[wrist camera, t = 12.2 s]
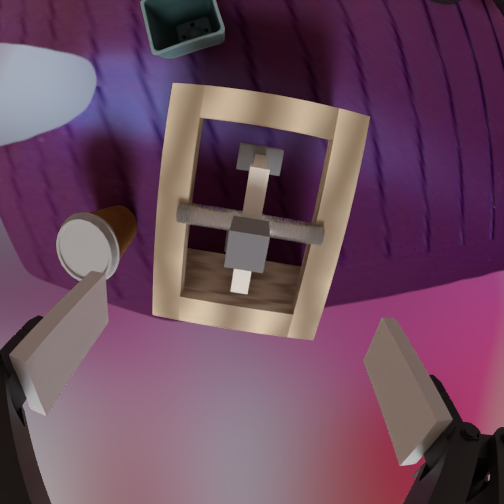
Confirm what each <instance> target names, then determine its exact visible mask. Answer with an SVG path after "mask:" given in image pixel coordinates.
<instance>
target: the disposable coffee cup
mask: <svg viewBox="0 0 504 504" xmlns="http://www.w3.org/2000/svg"><path fill="white" fill-rule="evenodd" d="M136 232H137V221H136V218H135V216H134V214H133V213H132V212H131V211H130V210H129V209H128V208H126V207H124V206H121V205H115V206H111V207H108V208H104V209H100V210H97V211H93V212H90V213H86V212H82V213H76V214H74V215H71V216H70V217H69V218H67V219H66V221H65V222H64V223H63V225H62V227H61V229H60V231H59V233H58V236H57V242H56V246H57V253H58V257H59V260H60V262H61V264H62V266H63V267H64V268H65V270H66V271H67V272H68V273H69V274H70V275H71V276H72V277H74V278H75V279H77V280H79V281H81V280H82V279H83V278H84V277H85V276H86V275H87V274H88V273H90V272H91V271H96V272H101V273H105V275H106V279H108V278H110V277H111V276H112V275H113V273H114V272H115V271H116V269H117V267H118V263H119V259H120V258H121V256H122V255H123V253H124V252H125V250H126V249H127V247H128V245H129V244H130V243H131V241H132V240H133V238H134V237H135V235H136Z"/></svg>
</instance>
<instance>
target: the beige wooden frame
mask: <svg viewBox="0 0 504 504" xmlns="http://www.w3.org/2000/svg"><path fill="white" fill-rule="evenodd" d="M204 118H207V119H215V120H223V121H231V122H238V123H245V124H251V125H257V126H264V127H269V128H275V129H281V130H286V131H291V132H296V133H301V134H306V135H311V136H316V137H320V138H325V139H329V141H328V146H327V151H326V157H325V162H324V167H323V172H322V176H321V181H320V186H319V191H318V196H317V200H316V205H315V210H314V214H313V219H312V223H310V222H304V221H299V220H293V219H287V218H282V217H276V216H270V215H264V214H262V217H261V220H264V221H269V228H270V237H271V238H277V239H283V240H289V241H295V242H301V243H306V244H307V245H306V249H305V253H304V258H303V262H302V266H295V265H289V264H283V263H276V262H270V261H265V265H264V270H263V273H258V272H251V277H250V283H249V288H248V294H241V293H235V292H230V291H231V284H232V278H233V271H234V269H233V268H227V267H224V264H225V257H226V254H221V253H215V252H209V251H202V250H196V249H190V248H188V237H189V227H190V225H197V226H203V227H209V228H216V229H222V230H228V231H229V229H230V226H231V223H232V219H233V216H239V217H242V214H243V211H240V210H234V209H227V208H221V207H214V206H208V205H201V204H194V203H192V200H193V192H194V184H195V176H196V168H197V161H198V153H199V146H200V140H201V133H202V126H203V120H204ZM369 120H370V117H369V116H366V115H362V114H359V113H355V112H351V111H347V110H344V109H340V108H336V107H332V106H327V105H323V104H319V103H314V102H310V101H305V100H300V99H295V98H290V97H285V96H280V95H274V94H268V93H262V92H256V91H249V90H242V89H234V88H226V87H217V86H207V85H196V84H183V83H173V85H172V91H171V97H170V103H169V110H168V116H167V123H166V130H165V138H164V146H163V154H162V162H161V171H160V181H159V192H158V203H157V216H156V231H155V248H154V272H153V315H156V316H161V317H166V318H171V319H176V320H181V321H186V322H192V323H197V324H203V325H209V326H215V327H221V328H227V329H233V330H240V331H246V332H253V333H260V334H268V335H274V336H283V337H290V338H299V339H307V340H313V339H314V336H315V333H316V330H317V327H318V324H319V321H320V318H321V315H322V311H323V308H324V305H325V302H326V298H327V295H328V292H329V288H330V285H331V282H332V278H333V275H334V271H335V268H336V264H337V260H338V257H339V253H340V249H341V246H342V242H343V238H344V234H345V230H346V226H347V222H348V218H349V214H350V210H351V206H352V202H353V197H354V193H355V189H356V184H357V180H358V175H359V171H360V166H361V161H362V156H363V151H364V146H365V141H366V136H367V131H368V125H369Z"/></svg>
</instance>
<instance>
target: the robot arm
mask: <svg viewBox="0 0 504 504" xmlns="http://www.w3.org/2000/svg"><path fill="white" fill-rule="evenodd" d="M431 1H433V2H436V3H440V4H446V5H450V4H455V3H457V2H459V1H461V0H431ZM493 1H494V3H495V4H496V6H497V7H498V9H499V10H500V12H501V13H502V15H503V16H504V0H493ZM108 322H109V321H108V310H107V294H106V275H105V273H101V272H96V271H91V272H90V273H88V274H87V275H86V276H85V277H84V278H83V279H82V280H81V281H80V282H79V283H78V284H77V285H76V286H75V287H74V288H73V289H72V290H71V291H70V292H69V293H68V294H67V295H66V296H64V297H63V298H62V299H61V300H60V301H59V302H58V303H57V304H56V306H54V307H53V309H52V310H51V311H50V312H48V314H47V315H46V316H45V317H42V316H37V317H35V318H33V319H31V320H29V321H28V322H27V323H26V324H25V325H24V326H23V327H22V329H20V330H19V331H18V332H17V333H16V335H14V336H13V337H12V338H11V339H10V340H9V341H8V342H7V343H6V345H5V346H4V347H3V348H2V349H1V350H0V504H51V502H50V499H49V496H48V494H47V491H46V488H45V485H44V483H43V480H42V476H41V473H40V470H39V467H38V464H37V461H36V457H35V453H34V450H33V446H32V442H31V438H30V434H29V430H28V426H27V421H26V416H25V412H24V409H23V406H22V405H23V403H24V402H25V400H26V399H27V401H28V404H29V406H30V408H31V409H32V410H34V411H36V412H38V413H40V414H43V415H45V416H47V415H48V413H49V411H50V410H51V408H52V407H53V405H54V403H55V402H56V400H57V399H58V397H59V395H60V394H61V392H62V390H63V389H64V387H65V386H66V384H67V383H68V381H69V380H70V378H71V376H72V375H73V373H74V372H75V370H76V369H77V367H78V366H79V364H80V363H81V361H82V360H83V358H84V357H85V355H86V354H87V352H88V351H89V350H90V348H91V347H92V345H93V344H94V342H95V341H96V339H97V338H98V336H99V335H100V334H101V332H102V331H103V329H104V328H105V326H106V325H107V324H108ZM363 362H364V364H365V368H366V370H367V373H368V375H369V378H370V381H371V383H372V386H373V389H374V392H375V394H376V397H377V400H378V403H379V406H380V408H381V411H382V414H383V417H384V420H385V422H386V426H387V429H388V432H389V434H390V437H391V440H392V444H393V447H394V450H395V453H396V456H397V459H398V462H399V465H400V466H402V465H409V464H416V463H417V461H418V460H419V459H420V458H421V457H422V456H423V455H424V457H425V460H426V462H425V463H424V464H423V465H422V466H421V467H420V468H419V469H418V470H417V471H416V472H415V473H414V474H413V476H412V477H415V476H416V475H417V474H418V475H417V477H416V480H415V482H414V484H413V485H412V487H411V490H410V491H409V493H408V495H407V497H406V499H405V501H404V503H403V504H504V427H500V428H498V429H497V430H496V432H495V433H494V434H493V435H484V434H481V433H480V431H479V429H478V428H477V427H476V426H474V425H473V424H471V423H468V422H463V421H462V419H461V417H460V415H459V413H458V412H457V410H456V408H455V406H454V404H453V402H452V401H451V399H449V398H450V397H449V395H448V393H447V392H446V390H445V388H444V386H443V385H442V383H441V382H440V381H439V380H438V379H437V378H436V377H435V376H434V375H429V374H428V372H427V371H426V369H425V367H424V365H423V364H422V362H421V361H420V359H419V357H418V355H417V354H416V352H415V350H414V348H413V347H412V345H411V344H410V342H409V340H408V338H407V337H406V335H405V334H404V332H403V330H402V329H401V327H400V326H399V324H398V322H397V321H396V319H393V318H384V317H382V318H381V321H380V323H379V326H378V328H377V331H376V333H375V335H374V338H373V340H372V342H371V345H370V347H369V349H368V351H367V354H366V356H365V358H364V360H363ZM489 474H490V480H489V481H488V475H489Z"/></svg>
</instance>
